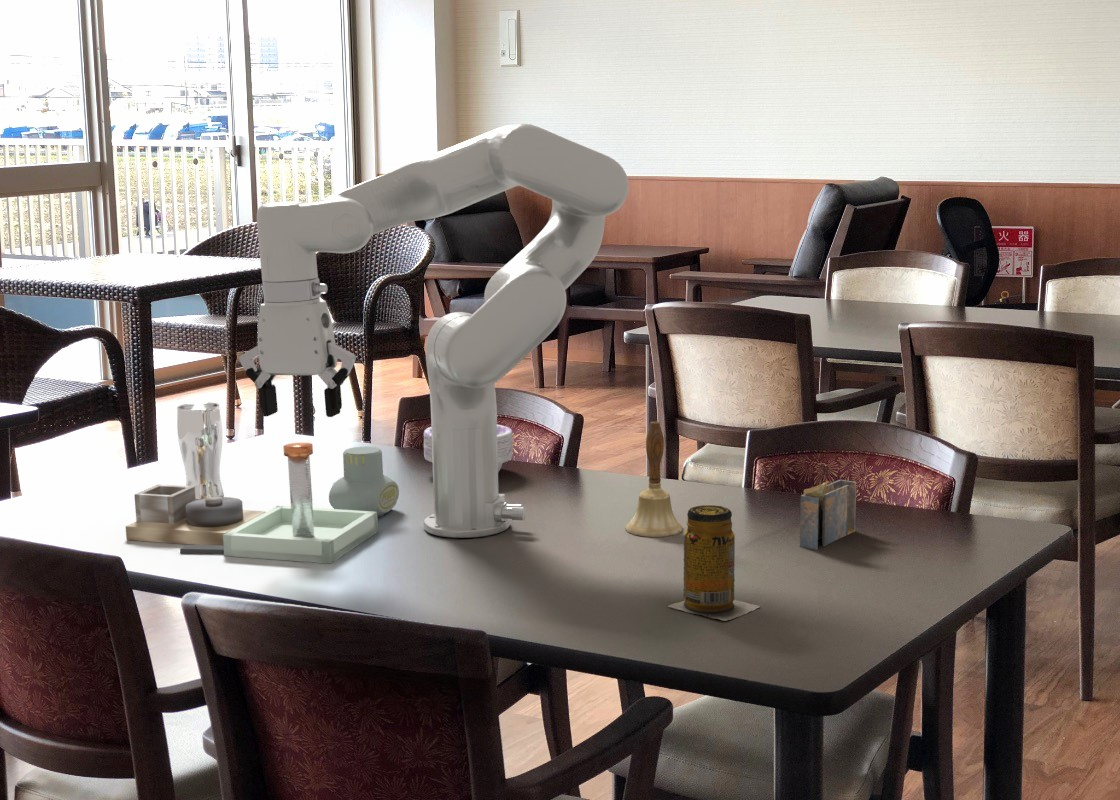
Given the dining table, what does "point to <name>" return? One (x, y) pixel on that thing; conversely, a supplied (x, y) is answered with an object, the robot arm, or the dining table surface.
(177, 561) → the dining table surface
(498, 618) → the dining table surface
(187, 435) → the beer glass
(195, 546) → the dark grey bar
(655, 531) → the hand bell
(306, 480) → the capped tube
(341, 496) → the air freshener
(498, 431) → the paper bowls
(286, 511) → the tray
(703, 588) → the condiment
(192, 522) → the wooden base with holder
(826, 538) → the grey split block
